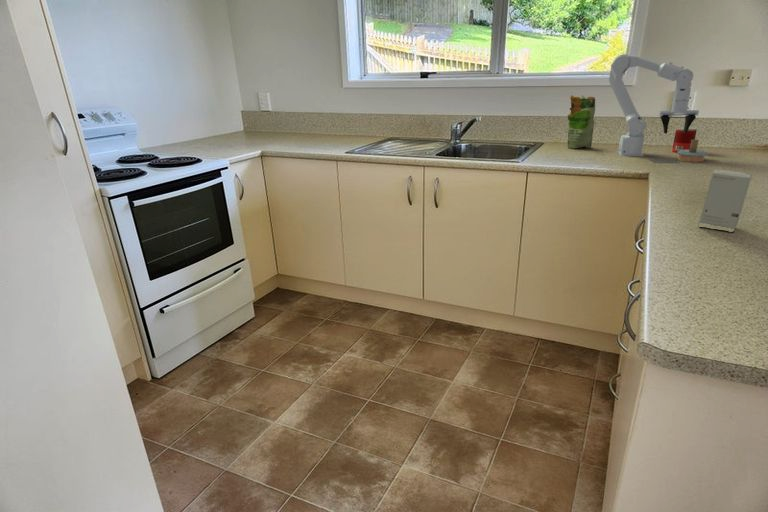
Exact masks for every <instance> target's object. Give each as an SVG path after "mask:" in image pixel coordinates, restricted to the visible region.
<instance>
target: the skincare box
mask: <svg viewBox="0 0 768 512" xmlns="http://www.w3.org/2000/svg"><path fill="white" fill-rule="evenodd" d="M752 176H753V174H752V173H747V172H739V171H731V170H724V169H715V170H714V171H713V172H712V174H711V178H710V182H709V185H708V189H707V193H706V196H705V201H704V204H703V207H702V211H701V215H700V219H699V222H698V224H699V223H706V224H710V225H714V226H721V227H726V228H731V229H735V228H737V227H738V223H739V220H740V217H741V213H742V210H743V206H744V203H745V200H746V197H747V194H748V190H749V187H750V183H751V180H752ZM736 226H737V227H736ZM735 230H736V229H735Z"/></svg>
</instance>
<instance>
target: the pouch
mask: <svg viewBox="0 0 768 512" xmlns="http://www.w3.org/2000/svg"><path fill="white" fill-rule="evenodd" d="M569 98H570V108H569V111H570V113H569V114H567V120H568V133H567V148H568V149H571V150H572V149H574V150H575V149H586V148H587V149H589V148H592V143H593V134H594V129H595V120H594V118H595V117H594V116H595V114H596V97H594V96H584V95H581V97H580V96H575V95H573V94H572V95H570V96H569Z"/></svg>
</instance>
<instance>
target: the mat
mask: <svg viewBox="0 0 768 512" xmlns="http://www.w3.org/2000/svg"><path fill="white" fill-rule="evenodd" d="M647 159H648V160H649V161H650V162H652V163H653V164H681V161H678V159H675V158H672V157H647Z"/></svg>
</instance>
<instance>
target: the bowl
mask: <svg viewBox="0 0 768 512" xmlns="http://www.w3.org/2000/svg"><path fill="white" fill-rule="evenodd" d="M678 160H679V161H680V162H681V161H682V162H688V163H701V162H704V160H705V156H686V155H680V154H678V157H677V161H678Z"/></svg>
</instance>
